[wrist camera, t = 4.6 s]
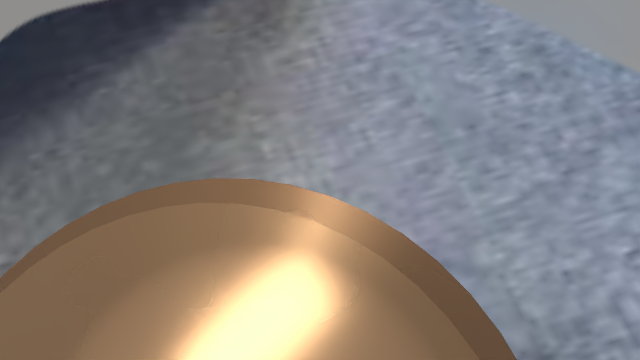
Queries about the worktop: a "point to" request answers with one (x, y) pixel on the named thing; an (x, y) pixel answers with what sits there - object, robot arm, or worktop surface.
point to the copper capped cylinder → (237, 284)
